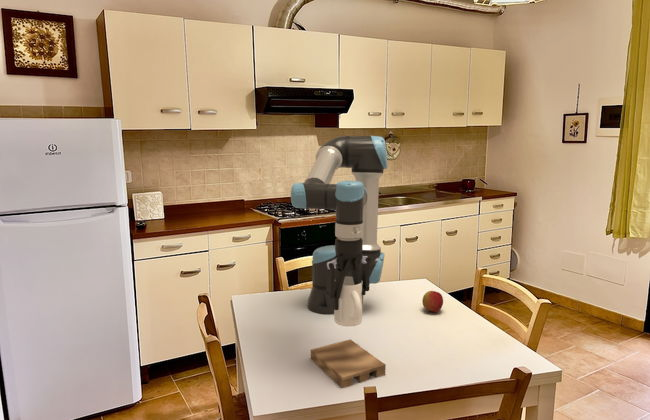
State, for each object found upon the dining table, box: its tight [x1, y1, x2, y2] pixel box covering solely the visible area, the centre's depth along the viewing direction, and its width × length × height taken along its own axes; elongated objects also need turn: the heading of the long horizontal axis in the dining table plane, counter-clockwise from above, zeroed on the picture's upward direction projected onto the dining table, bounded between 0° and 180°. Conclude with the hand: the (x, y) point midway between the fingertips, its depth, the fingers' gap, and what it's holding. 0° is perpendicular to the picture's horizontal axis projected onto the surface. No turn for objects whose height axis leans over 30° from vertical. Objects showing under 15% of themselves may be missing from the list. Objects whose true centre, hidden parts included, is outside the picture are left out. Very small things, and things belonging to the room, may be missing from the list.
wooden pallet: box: [310, 339, 387, 389], centre depth 136 cm, size 18×14×3 cm
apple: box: [422, 290, 444, 313], centre depth 176 cm, size 8×8×8 cm
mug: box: [333, 277, 363, 327], centre depth 133 cm, size 8×12×12 cm
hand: (347, 317), depth 133 cm, fingers closed on mug, 6 cm apart
